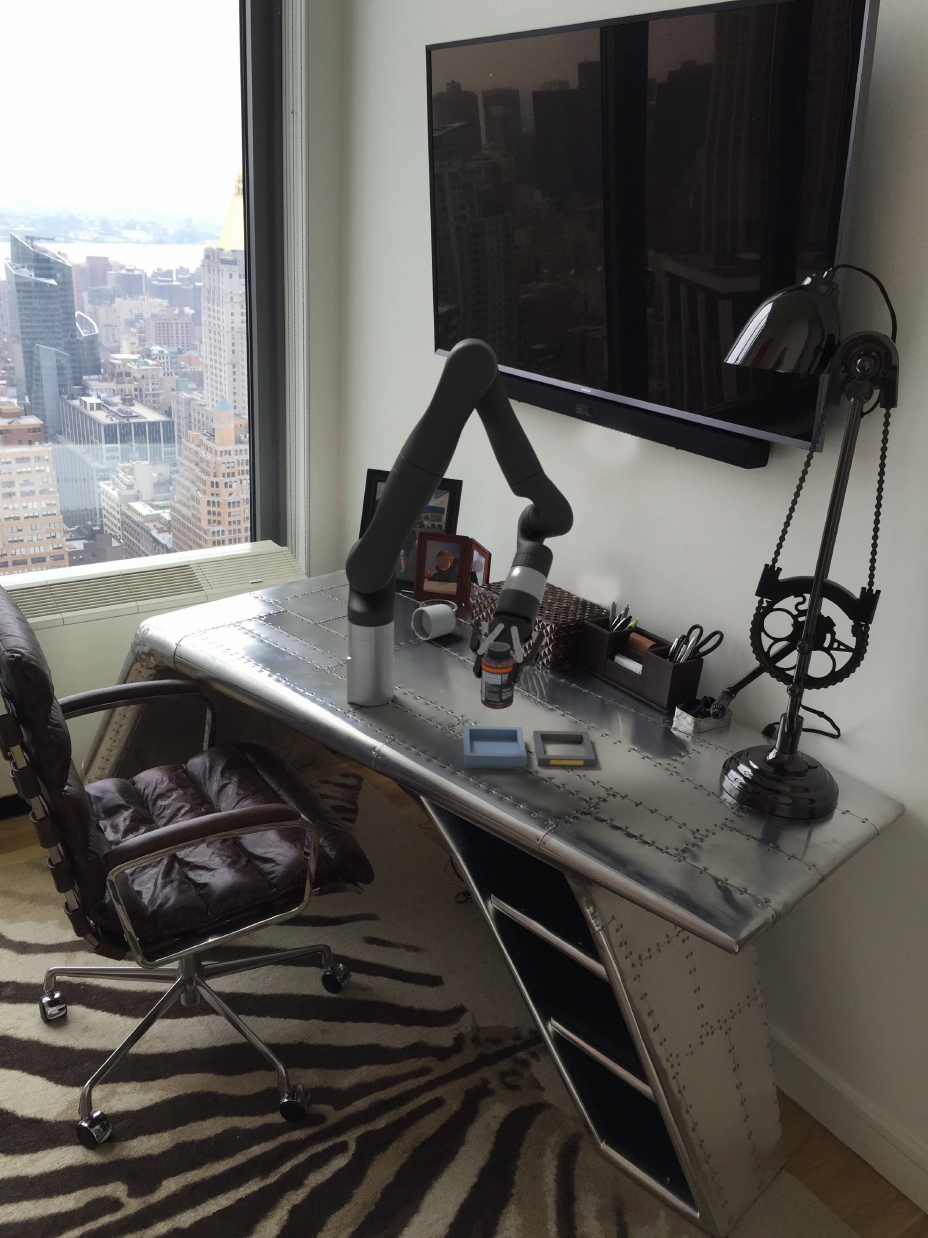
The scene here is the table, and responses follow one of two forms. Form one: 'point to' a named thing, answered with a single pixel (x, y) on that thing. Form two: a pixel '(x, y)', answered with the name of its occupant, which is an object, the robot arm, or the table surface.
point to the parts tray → (494, 747)
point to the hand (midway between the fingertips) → (494, 680)
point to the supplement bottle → (497, 676)
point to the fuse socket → (563, 759)
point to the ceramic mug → (433, 621)
